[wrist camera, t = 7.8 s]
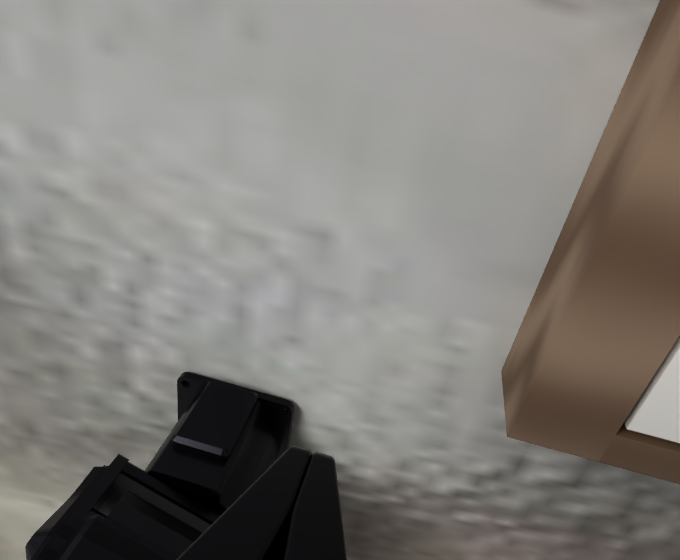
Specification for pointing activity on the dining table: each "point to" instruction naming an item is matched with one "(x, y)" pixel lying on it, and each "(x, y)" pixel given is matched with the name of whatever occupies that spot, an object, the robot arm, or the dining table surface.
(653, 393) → the button
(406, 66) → the dining table surface
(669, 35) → the panel
